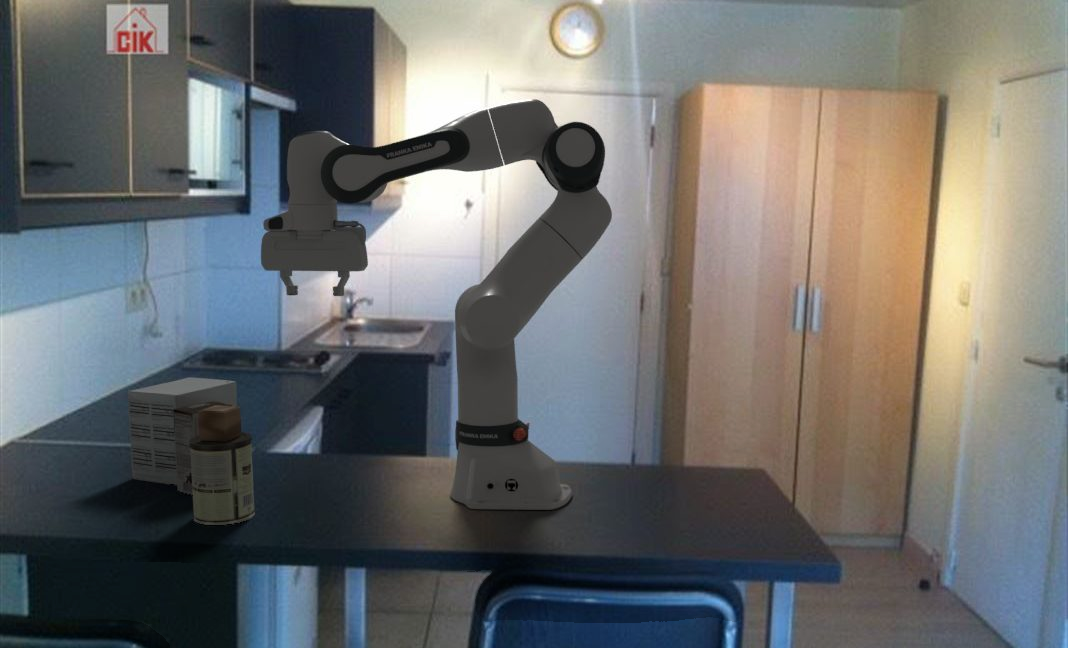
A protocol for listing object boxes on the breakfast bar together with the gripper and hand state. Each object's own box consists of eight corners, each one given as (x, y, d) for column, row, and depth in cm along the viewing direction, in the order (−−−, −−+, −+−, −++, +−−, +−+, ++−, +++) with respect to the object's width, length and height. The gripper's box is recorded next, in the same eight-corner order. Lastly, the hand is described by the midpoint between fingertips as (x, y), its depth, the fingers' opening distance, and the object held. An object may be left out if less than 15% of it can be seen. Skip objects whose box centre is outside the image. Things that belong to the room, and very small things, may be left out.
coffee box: (216, 481, 191) (212, 400, 189) (237, 486, 187) (233, 404, 185) (175, 491, 183) (171, 408, 181) (196, 497, 180) (192, 411, 178)
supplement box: (193, 459, 208) (189, 376, 206) (241, 465, 202) (238, 380, 200) (129, 479, 192) (124, 389, 190) (179, 486, 187) (175, 394, 185)
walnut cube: (241, 435, 168) (240, 406, 167) (225, 441, 163) (224, 411, 162) (216, 433, 169) (214, 404, 168) (199, 440, 164) (198, 410, 164)
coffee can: (198, 510, 172) (194, 432, 170) (258, 506, 173) (255, 429, 172) (187, 528, 162) (183, 445, 160) (251, 524, 163) (248, 443, 162)
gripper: (372, 220, 179) (374, 295, 180) (272, 221, 183) (274, 293, 185) (358, 220, 172) (360, 297, 174) (255, 221, 177) (257, 296, 179)
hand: (315, 295), depth 180 cm, fingers open, 8 cm apart
